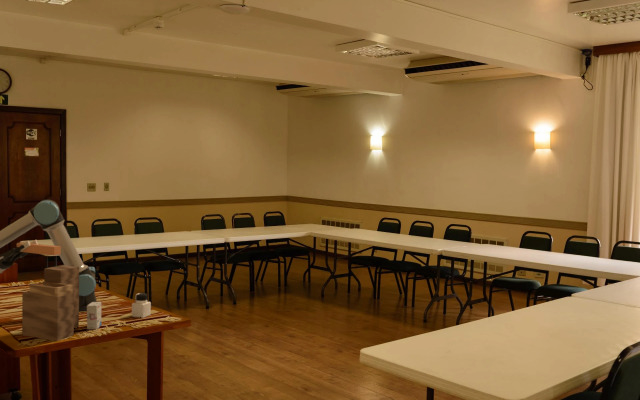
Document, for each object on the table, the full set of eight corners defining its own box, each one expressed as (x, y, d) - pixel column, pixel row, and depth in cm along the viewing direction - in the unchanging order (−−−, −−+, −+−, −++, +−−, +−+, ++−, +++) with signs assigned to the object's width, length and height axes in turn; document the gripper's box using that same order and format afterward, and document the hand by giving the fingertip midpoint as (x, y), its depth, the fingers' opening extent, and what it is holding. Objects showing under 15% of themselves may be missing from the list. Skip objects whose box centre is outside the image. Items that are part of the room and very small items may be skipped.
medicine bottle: (150, 315, 330) (151, 293, 329) (142, 318, 323) (143, 295, 322) (139, 313, 332) (140, 291, 331) (131, 316, 325) (131, 294, 325)
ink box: (91, 324, 307) (91, 301, 306) (101, 324, 307) (101, 301, 306) (86, 329, 298) (86, 305, 297) (96, 329, 298) (97, 305, 298)
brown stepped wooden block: (58, 324, 306) (58, 264, 304) (91, 329, 298) (92, 268, 296) (22, 335, 285) (22, 271, 283) (57, 340, 278) (57, 275, 276)
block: (23, 250, 304) (23, 242, 304) (60, 254, 295) (60, 246, 295) (16, 251, 300) (16, 243, 300) (54, 255, 291) (54, 247, 291)
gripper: (19, 267, 314) (49, 247, 306) (-10, 272, 298) (21, 251, 290) (13, 254, 315) (44, 234, 307) (-16, 258, 299) (15, 237, 291)
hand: (32, 242), depth 299 cm, fingers closed on block, 4 cm apart
